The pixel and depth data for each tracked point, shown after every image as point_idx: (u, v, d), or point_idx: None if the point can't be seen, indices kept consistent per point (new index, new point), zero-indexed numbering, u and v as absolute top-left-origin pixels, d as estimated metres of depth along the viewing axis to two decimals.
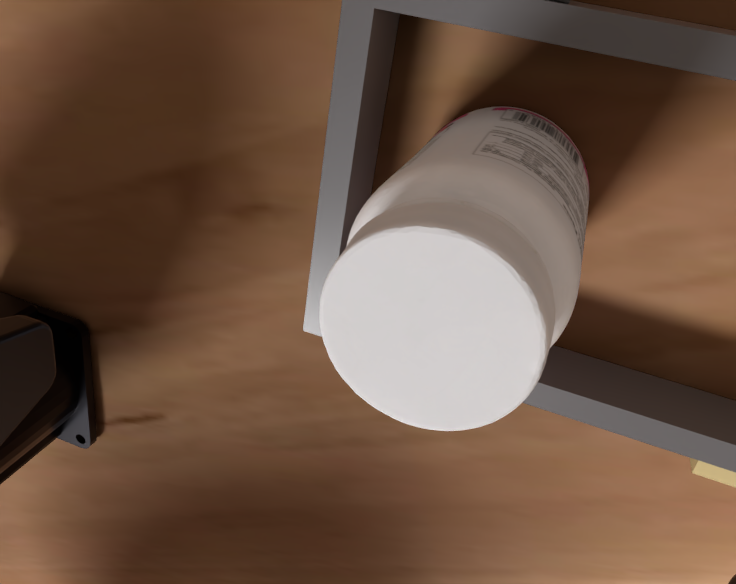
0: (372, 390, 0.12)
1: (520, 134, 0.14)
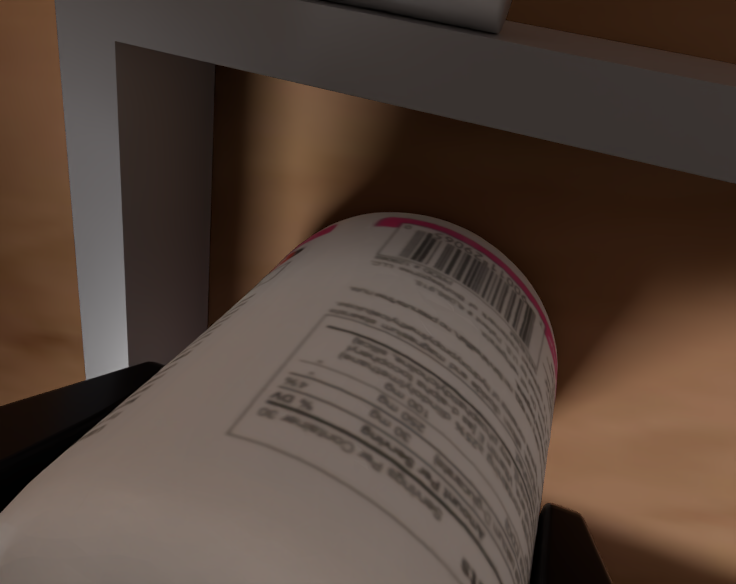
0: None
1: (398, 312, 0.07)
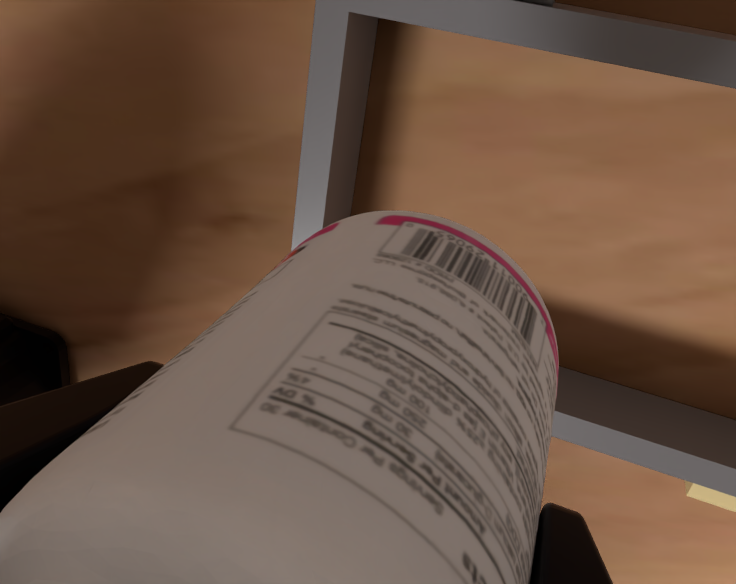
0: None
1: (400, 309, 0.07)
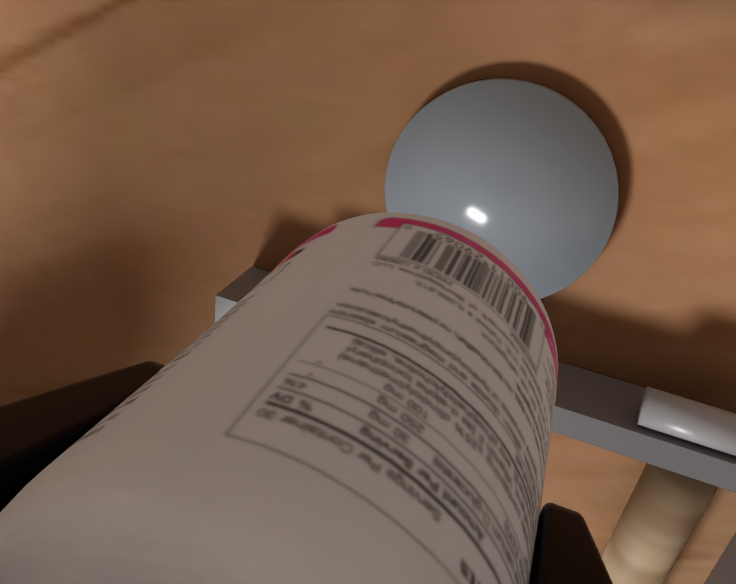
0: None
1: (398, 313, 0.07)
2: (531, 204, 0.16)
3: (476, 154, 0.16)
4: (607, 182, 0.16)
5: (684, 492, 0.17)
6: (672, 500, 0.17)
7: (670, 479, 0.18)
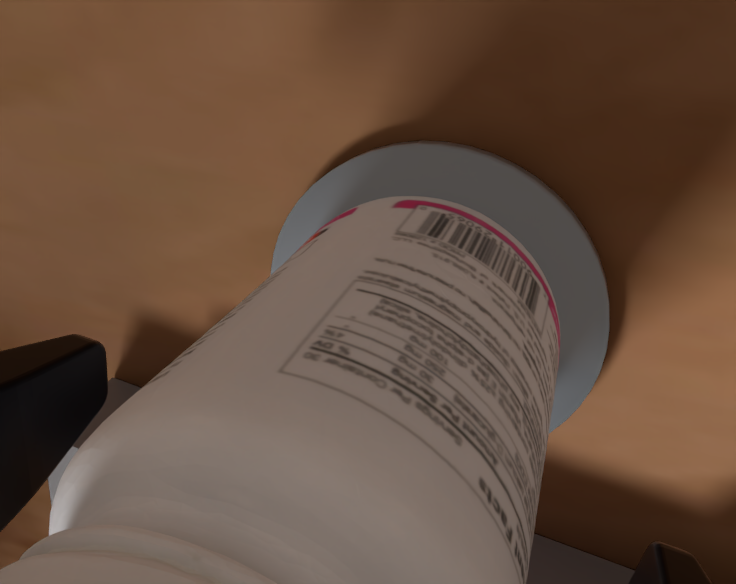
0: None
1: (418, 279, 0.07)
2: None
3: None
4: (592, 302, 0.10)
5: None
6: None
7: None
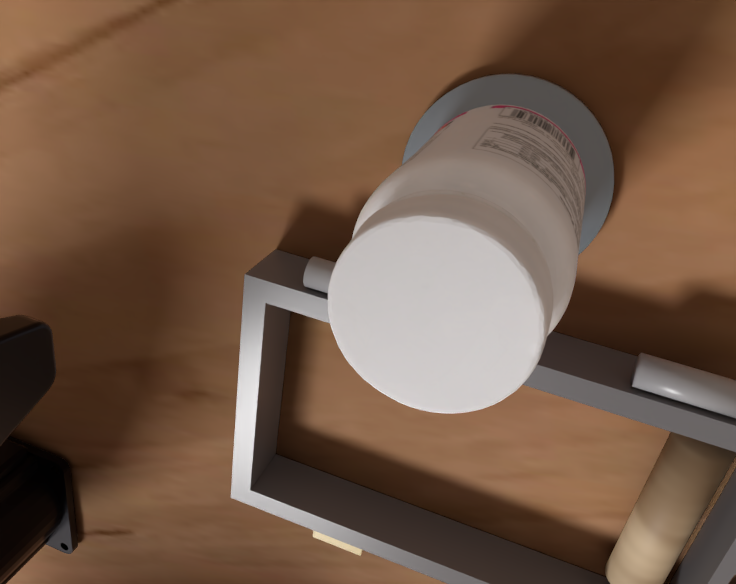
0: (379, 375, 0.12)
1: (518, 130, 0.15)
2: None
3: None
4: (604, 167, 0.17)
5: None
6: (726, 471, 0.19)
7: (721, 457, 0.19)
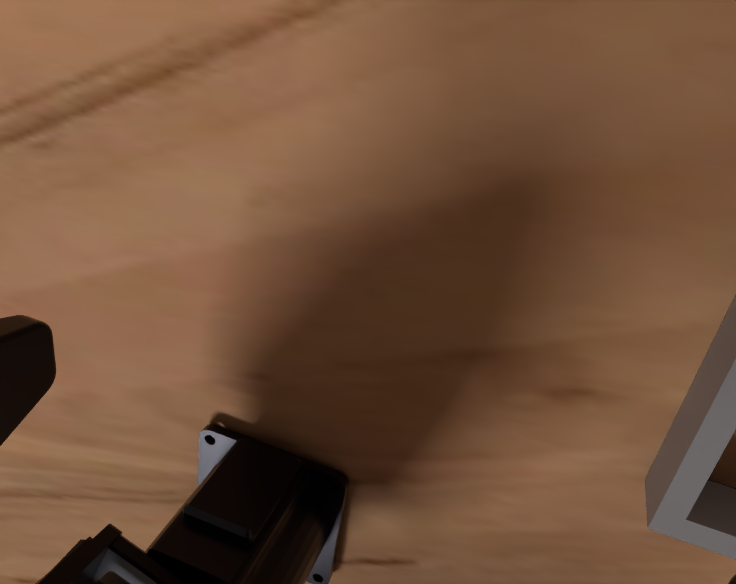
0: None
1: None
2: None
3: None
4: None
5: None
6: None
7: None
